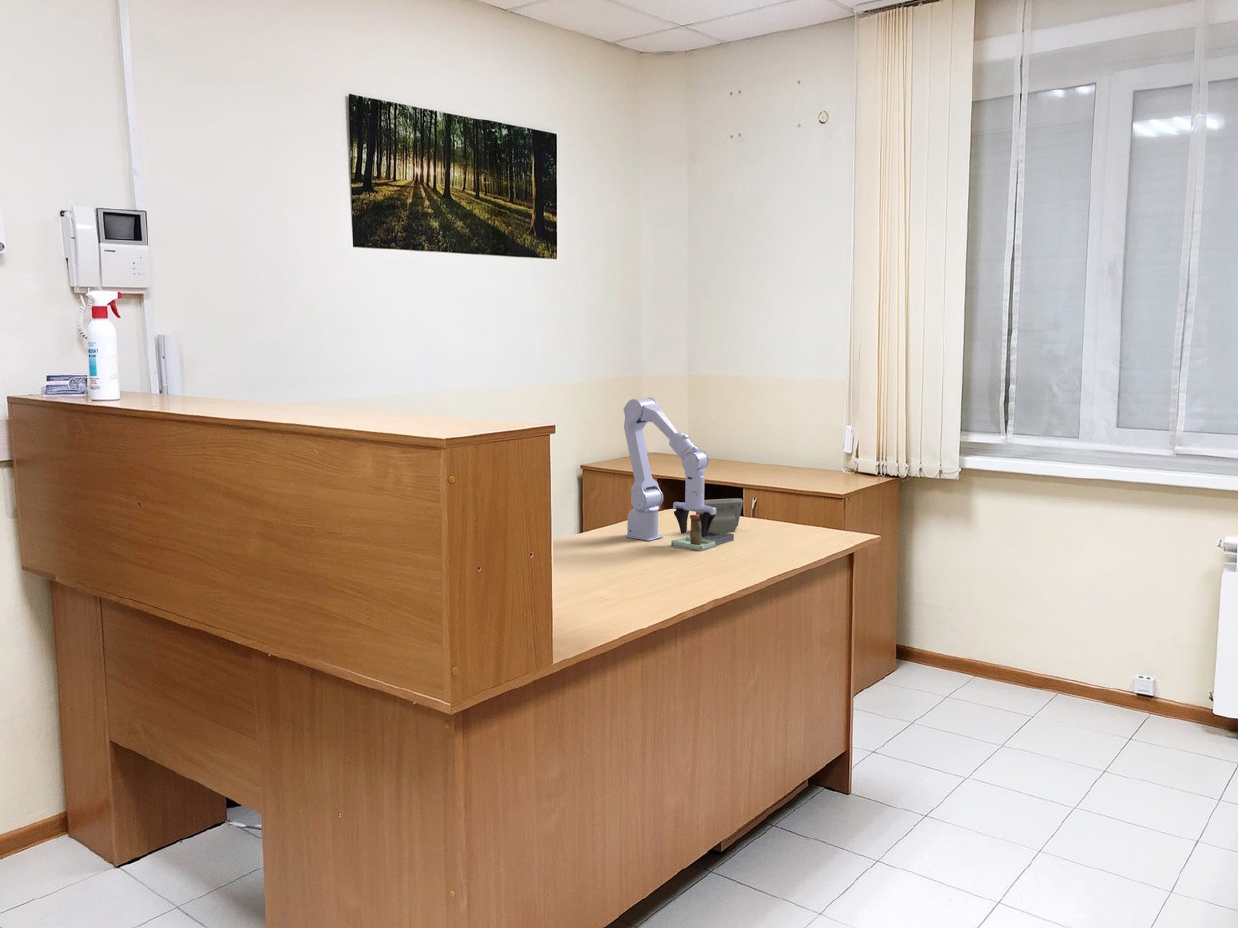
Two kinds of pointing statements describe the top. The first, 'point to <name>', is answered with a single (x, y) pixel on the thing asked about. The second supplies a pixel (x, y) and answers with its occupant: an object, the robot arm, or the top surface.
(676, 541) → the tray
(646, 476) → the robot arm
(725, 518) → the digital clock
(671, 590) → the top surface
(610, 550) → the top surface
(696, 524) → the pin
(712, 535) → the socket plate
